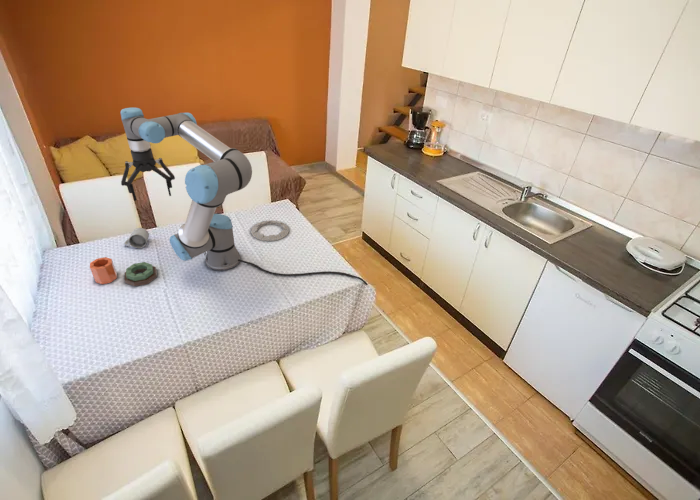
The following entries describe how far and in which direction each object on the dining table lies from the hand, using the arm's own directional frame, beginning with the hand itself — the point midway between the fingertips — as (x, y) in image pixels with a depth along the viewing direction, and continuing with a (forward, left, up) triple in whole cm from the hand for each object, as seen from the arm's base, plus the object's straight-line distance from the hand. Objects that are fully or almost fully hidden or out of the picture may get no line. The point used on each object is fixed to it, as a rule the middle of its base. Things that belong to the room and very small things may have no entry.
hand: (152, 197), depth 163 cm
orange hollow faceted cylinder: (+9, +26, -29) cm, 39 cm away
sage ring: (-3, +20, -27) cm, 33 cm away
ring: (-35, -36, -29) cm, 58 cm away
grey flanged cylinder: (+16, +1, -29) cm, 33 cm away
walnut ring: (-3, +20, -29) cm, 35 cm away
